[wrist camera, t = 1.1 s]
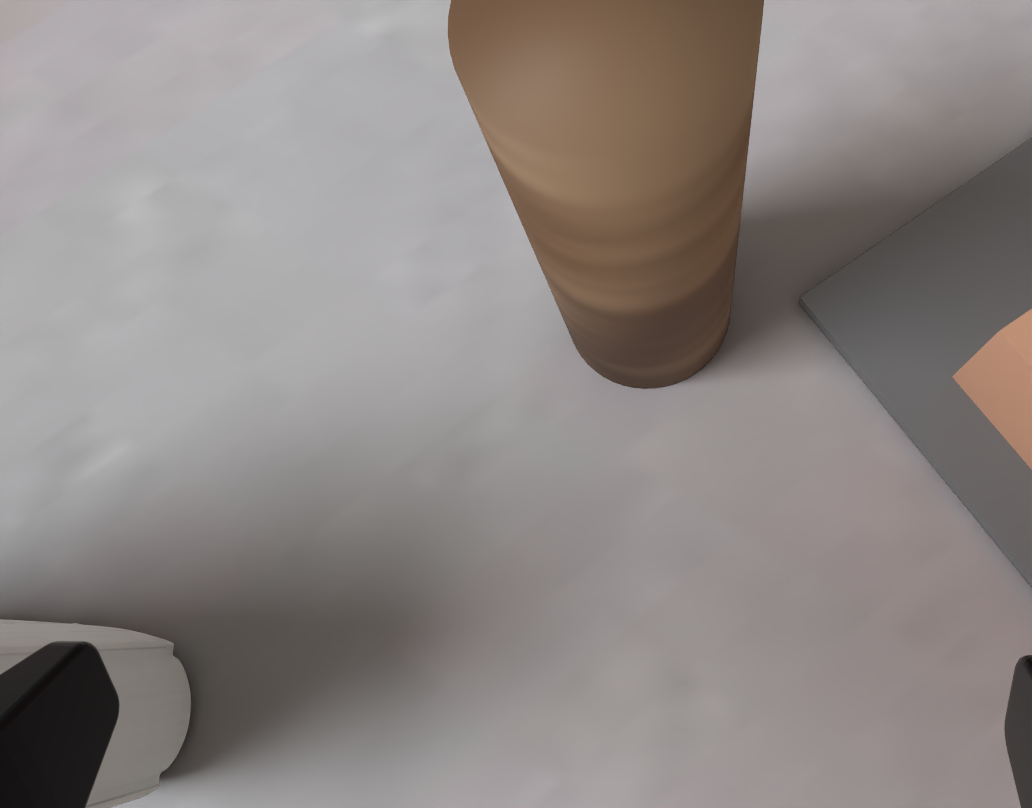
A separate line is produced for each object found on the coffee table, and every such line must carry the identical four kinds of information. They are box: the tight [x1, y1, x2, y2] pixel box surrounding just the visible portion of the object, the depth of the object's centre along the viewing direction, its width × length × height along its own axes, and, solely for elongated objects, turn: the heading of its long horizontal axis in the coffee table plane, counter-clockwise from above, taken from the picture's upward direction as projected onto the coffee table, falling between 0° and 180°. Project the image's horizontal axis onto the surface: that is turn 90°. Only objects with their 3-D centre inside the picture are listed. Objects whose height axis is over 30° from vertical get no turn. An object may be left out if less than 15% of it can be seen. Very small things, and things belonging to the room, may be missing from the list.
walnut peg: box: [448, 0, 764, 389], centre depth 18 cm, size 4×4×12 cm
